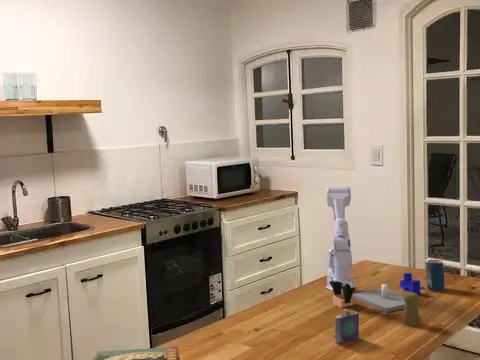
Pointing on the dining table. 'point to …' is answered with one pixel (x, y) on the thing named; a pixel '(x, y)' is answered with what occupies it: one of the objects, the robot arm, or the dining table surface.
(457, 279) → the dining table surface
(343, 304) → the collar
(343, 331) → the flask
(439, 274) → the soda can
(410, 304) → the cork
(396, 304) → the post board
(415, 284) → the cable clip
